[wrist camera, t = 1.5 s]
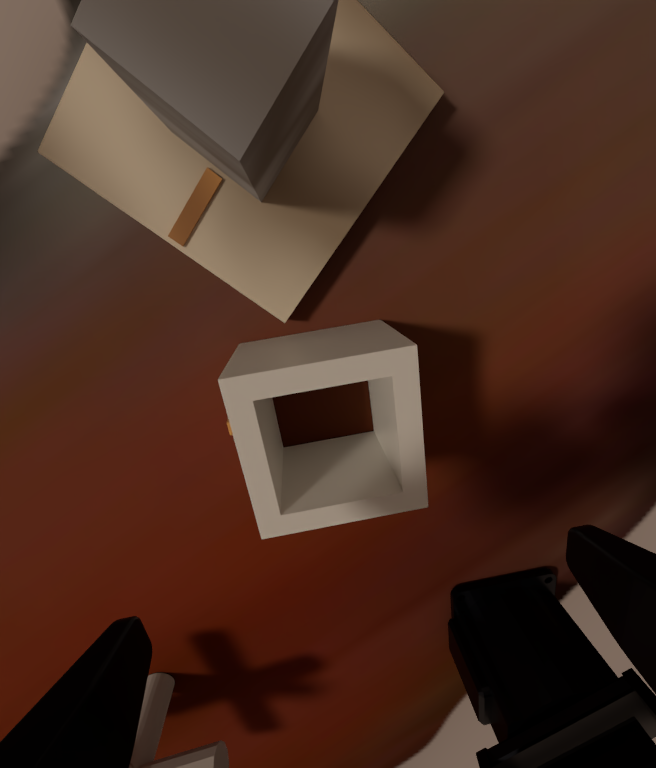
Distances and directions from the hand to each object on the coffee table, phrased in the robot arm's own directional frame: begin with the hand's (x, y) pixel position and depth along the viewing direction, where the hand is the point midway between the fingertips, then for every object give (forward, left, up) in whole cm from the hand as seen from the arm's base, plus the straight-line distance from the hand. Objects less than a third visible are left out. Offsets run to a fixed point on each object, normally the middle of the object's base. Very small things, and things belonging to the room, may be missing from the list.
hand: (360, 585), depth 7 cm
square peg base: (+1, -11, -10) cm, 15 cm away
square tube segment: (0, 0, -10) cm, 10 cm away
